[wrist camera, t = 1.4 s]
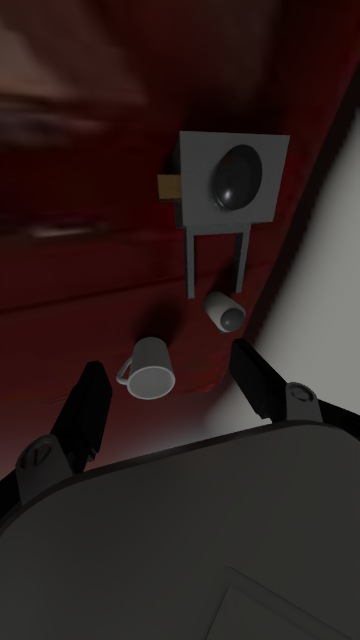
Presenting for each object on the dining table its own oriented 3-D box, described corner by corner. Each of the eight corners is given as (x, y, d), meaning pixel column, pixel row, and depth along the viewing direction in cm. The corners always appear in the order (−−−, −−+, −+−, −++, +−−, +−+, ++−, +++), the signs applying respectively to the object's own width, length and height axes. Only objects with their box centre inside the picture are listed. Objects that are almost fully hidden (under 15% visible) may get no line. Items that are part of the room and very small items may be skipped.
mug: (170, 334, 37) (178, 365, 28) (166, 362, 40) (171, 397, 31) (122, 332, 34) (114, 366, 25) (122, 363, 38) (115, 401, 29)
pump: (202, 292, 33) (219, 308, 25) (227, 289, 34) (250, 304, 26) (202, 320, 36) (217, 342, 29) (224, 317, 37) (244, 337, 30)
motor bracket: (152, 156, 22) (155, 119, 15) (259, 157, 24) (301, 127, 17) (166, 296, 32) (171, 311, 25) (240, 288, 34) (262, 300, 28)
